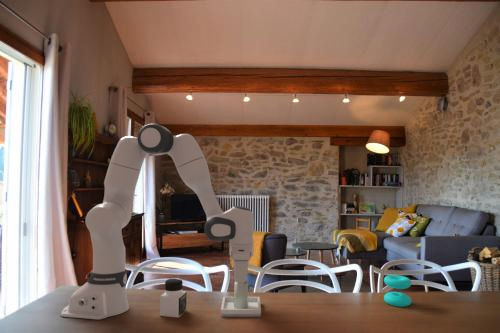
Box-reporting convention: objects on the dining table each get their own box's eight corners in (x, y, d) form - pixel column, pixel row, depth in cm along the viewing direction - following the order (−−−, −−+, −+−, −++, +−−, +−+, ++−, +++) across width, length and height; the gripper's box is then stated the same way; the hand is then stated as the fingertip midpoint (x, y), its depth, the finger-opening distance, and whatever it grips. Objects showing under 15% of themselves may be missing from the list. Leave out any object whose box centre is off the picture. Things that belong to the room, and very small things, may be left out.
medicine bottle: (178, 318, 128) (179, 282, 129) (159, 316, 130) (160, 281, 130) (186, 310, 135) (187, 277, 136) (168, 309, 137) (168, 276, 137)
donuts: (387, 280, 142) (381, 273, 152) (387, 307, 142) (381, 298, 151) (415, 281, 141) (406, 274, 151) (415, 308, 141) (406, 299, 150)
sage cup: (233, 309, 134) (234, 283, 135) (234, 304, 140) (234, 279, 140) (248, 309, 135) (248, 283, 135) (248, 304, 140) (248, 280, 140)
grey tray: (220, 316, 130) (220, 309, 130) (223, 303, 144) (223, 296, 144) (261, 317, 130) (261, 309, 130) (259, 303, 144) (259, 296, 144)
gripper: (233, 245, 148) (232, 280, 148) (231, 256, 127) (231, 297, 127) (249, 245, 148) (248, 280, 148) (250, 256, 128) (249, 297, 127)
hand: (240, 288), depth 137 cm, fingers open, 8 cm apart
